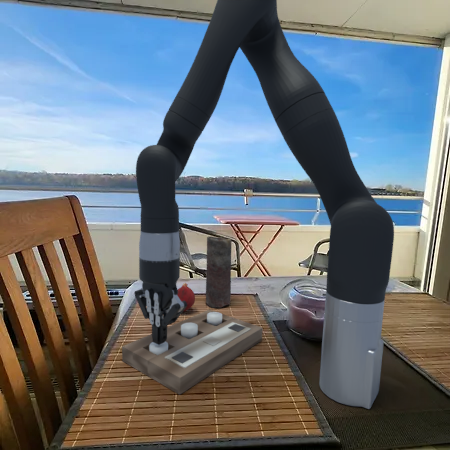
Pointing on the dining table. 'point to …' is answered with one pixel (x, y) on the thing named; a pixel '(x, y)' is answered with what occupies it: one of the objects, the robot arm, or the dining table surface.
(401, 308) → the dining table surface
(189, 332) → the button middle
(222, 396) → the dining table surface
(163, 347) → the button left
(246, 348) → the button board
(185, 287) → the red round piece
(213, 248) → the candle
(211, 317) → the button right
